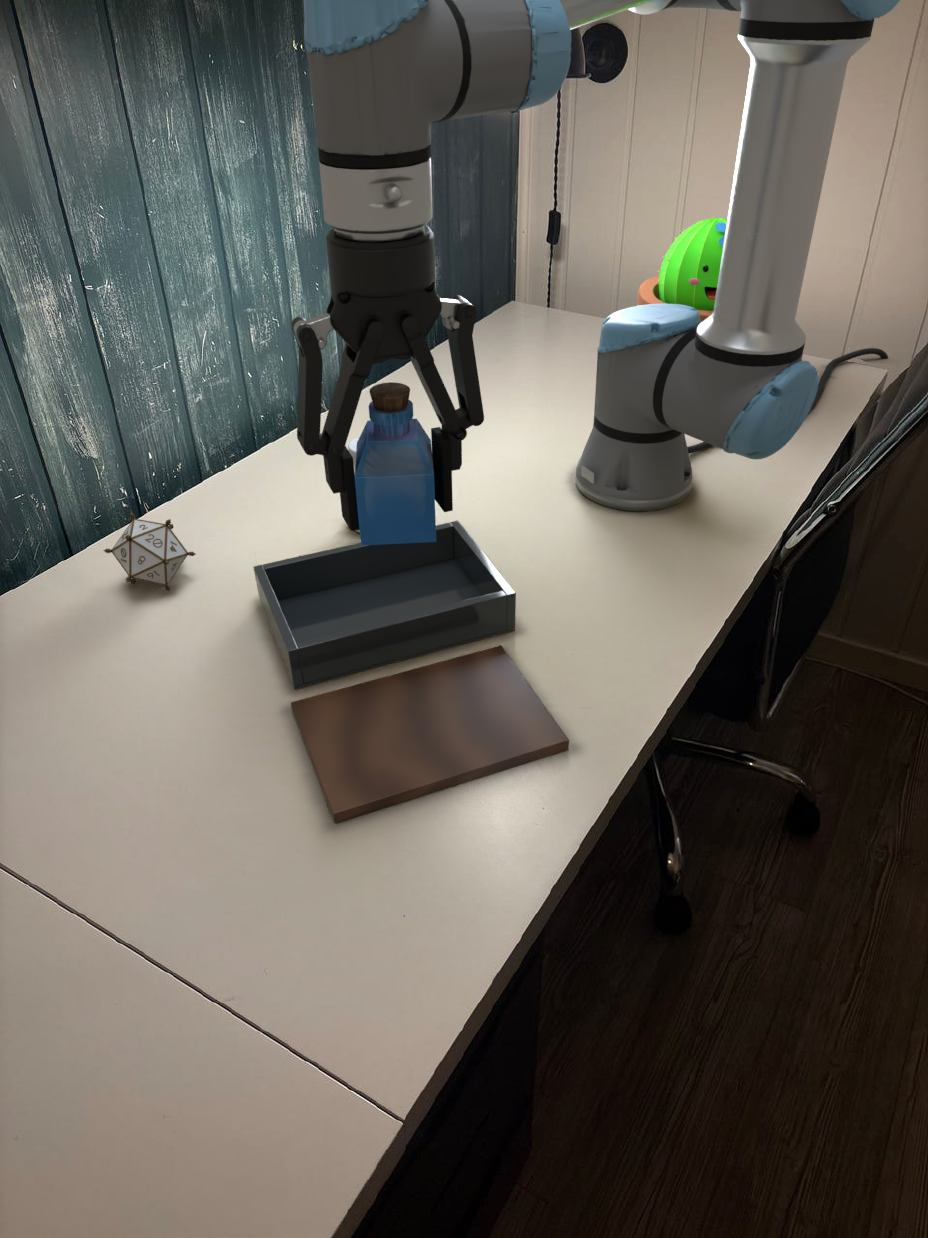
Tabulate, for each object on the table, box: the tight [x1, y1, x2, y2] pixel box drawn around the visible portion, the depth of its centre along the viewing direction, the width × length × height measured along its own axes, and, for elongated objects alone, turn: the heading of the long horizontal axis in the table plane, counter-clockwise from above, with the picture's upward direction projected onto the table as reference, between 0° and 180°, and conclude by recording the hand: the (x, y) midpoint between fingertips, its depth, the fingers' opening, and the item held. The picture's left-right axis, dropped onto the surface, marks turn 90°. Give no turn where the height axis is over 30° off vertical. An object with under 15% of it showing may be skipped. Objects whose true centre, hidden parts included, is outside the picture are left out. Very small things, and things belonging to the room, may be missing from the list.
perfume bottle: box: [355, 381, 437, 545], centre depth 74 cm, size 6×6×12 cm
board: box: [290, 644, 570, 824], centre depth 85 cm, size 22×15×1 cm
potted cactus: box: [636, 214, 728, 322], centre depth 145 cm, size 22×22×25 cm
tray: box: [253, 520, 517, 690], centre depth 99 cm, size 24×16×5 cm, turn 112°
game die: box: [102, 511, 197, 593], centre depth 104 cm, size 9×8×10 cm
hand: (397, 512), depth 77 cm, fingers closed on perfume bottle, 7 cm apart
